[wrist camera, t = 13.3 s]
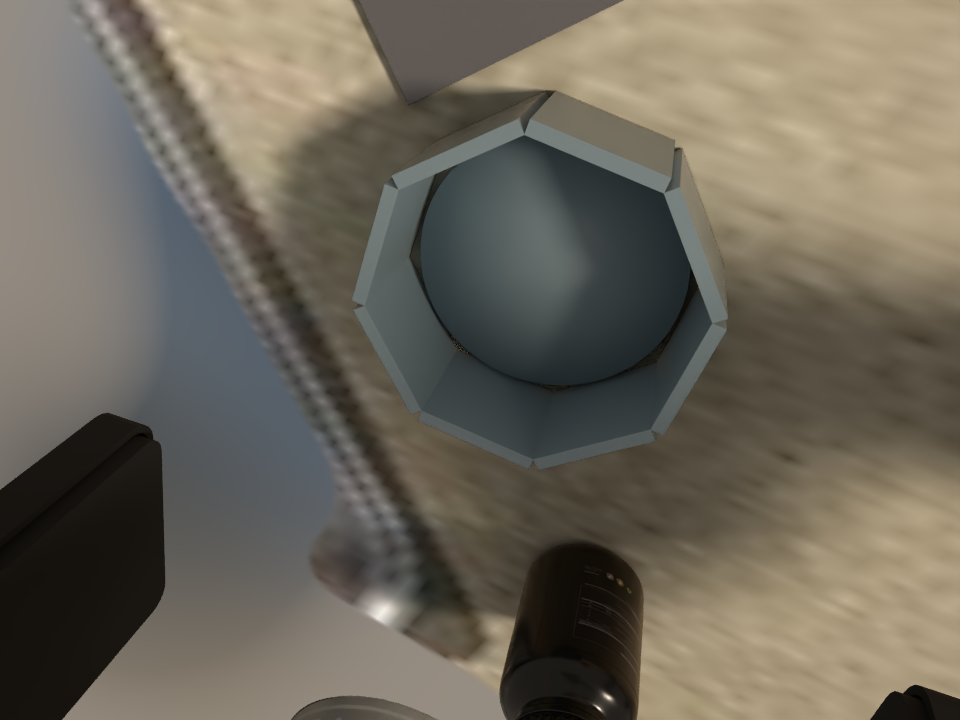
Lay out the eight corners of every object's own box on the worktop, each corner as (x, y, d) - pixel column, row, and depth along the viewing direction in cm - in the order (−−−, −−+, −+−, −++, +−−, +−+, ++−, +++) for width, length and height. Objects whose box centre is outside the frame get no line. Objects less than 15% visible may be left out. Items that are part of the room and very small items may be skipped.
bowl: (645, 44, 31) (636, 65, 26) (753, 346, 36) (763, 414, 31) (356, 177, 37) (300, 216, 31) (483, 422, 41) (453, 491, 36)
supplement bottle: (595, 645, 47) (567, 842, 37) (505, 582, 46) (451, 764, 36) (671, 587, 44) (664, 786, 33) (575, 518, 43) (538, 699, 33)
